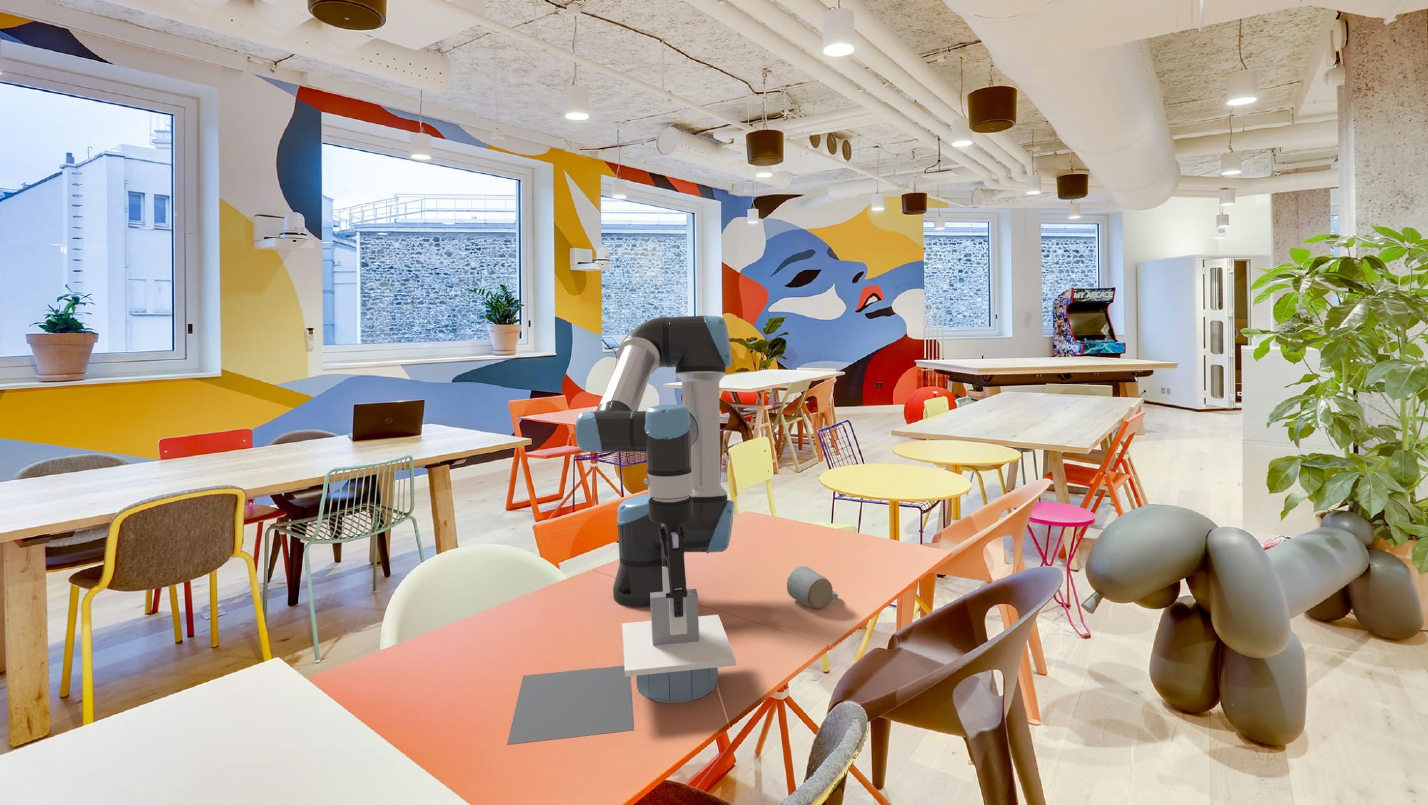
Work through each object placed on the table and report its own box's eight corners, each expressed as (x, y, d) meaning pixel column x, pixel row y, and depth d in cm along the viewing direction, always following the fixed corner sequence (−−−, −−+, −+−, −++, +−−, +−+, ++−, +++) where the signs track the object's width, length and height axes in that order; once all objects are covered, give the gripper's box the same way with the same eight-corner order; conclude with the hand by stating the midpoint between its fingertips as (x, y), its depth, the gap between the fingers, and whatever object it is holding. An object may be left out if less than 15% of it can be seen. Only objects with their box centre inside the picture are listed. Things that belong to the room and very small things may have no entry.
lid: (622, 628, 129) (620, 579, 128) (718, 619, 131) (717, 571, 130) (625, 676, 111) (622, 619, 110) (735, 665, 114) (734, 609, 113)
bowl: (635, 668, 128) (633, 632, 127) (710, 661, 130) (709, 625, 129) (638, 710, 114) (637, 669, 113) (723, 700, 116) (721, 661, 115)
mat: (523, 678, 125) (523, 675, 125) (629, 668, 128) (629, 665, 128) (507, 748, 105) (506, 744, 105) (634, 733, 107) (634, 730, 107)
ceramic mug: (809, 614, 149) (809, 579, 149) (786, 602, 156) (786, 568, 156) (846, 603, 155) (846, 570, 154) (822, 592, 162) (822, 560, 161)
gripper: (644, 481, 130) (648, 591, 132) (653, 518, 105) (658, 651, 108) (684, 479, 131) (687, 588, 133) (702, 514, 106) (706, 647, 109)
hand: (674, 616), depth 121 cm, fingers open, 13 cm apart
